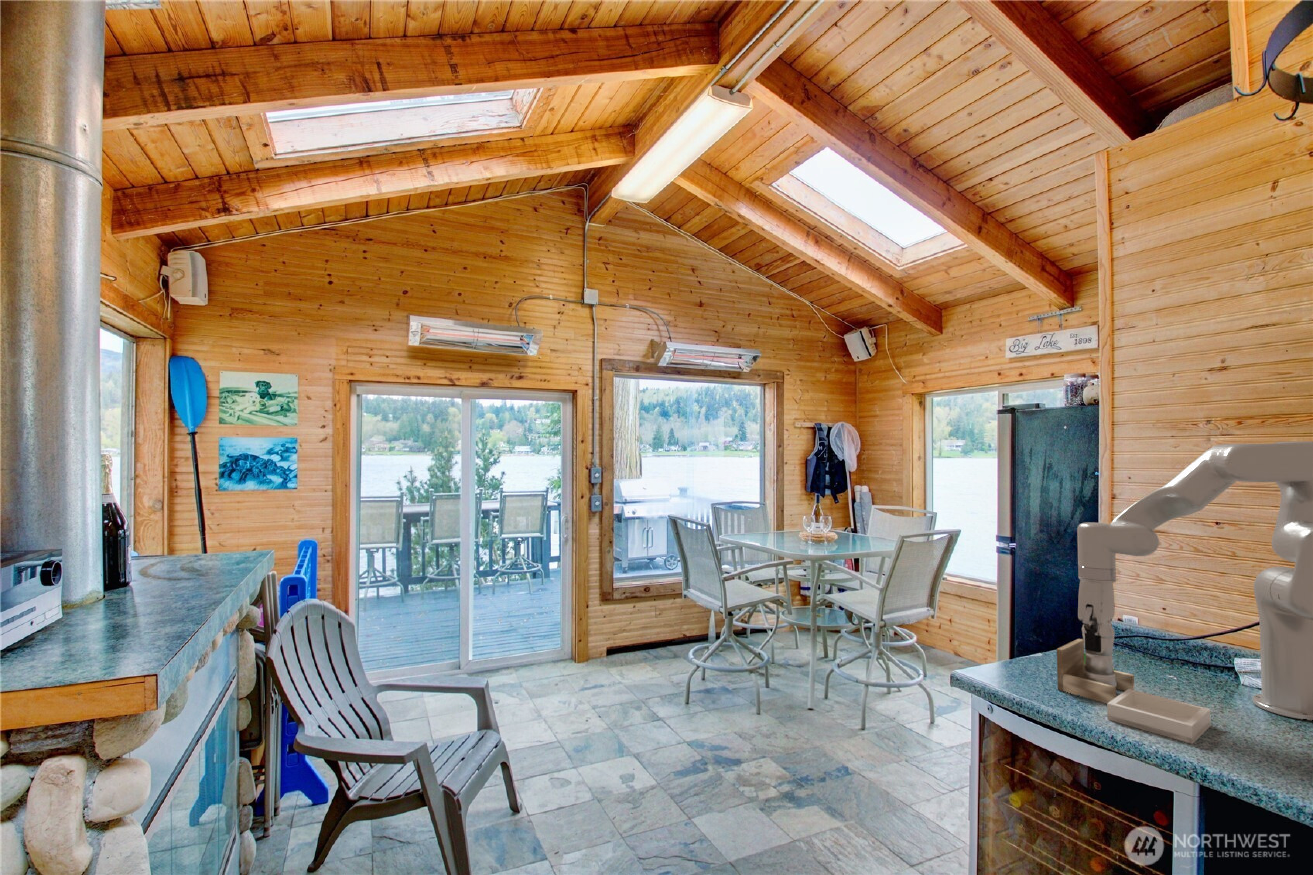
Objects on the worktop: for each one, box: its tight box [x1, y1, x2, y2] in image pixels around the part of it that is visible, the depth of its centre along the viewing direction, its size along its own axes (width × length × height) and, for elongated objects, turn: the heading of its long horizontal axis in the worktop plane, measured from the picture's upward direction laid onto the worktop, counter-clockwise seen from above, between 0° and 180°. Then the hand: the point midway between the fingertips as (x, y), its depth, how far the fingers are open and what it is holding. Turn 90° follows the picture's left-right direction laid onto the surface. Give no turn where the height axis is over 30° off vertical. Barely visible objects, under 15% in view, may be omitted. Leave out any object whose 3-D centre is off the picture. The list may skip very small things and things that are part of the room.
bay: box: [1056, 638, 1135, 704], centre depth 152 cm, size 12×13×10 cm
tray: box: [1106, 689, 1212, 745], centre depth 134 cm, size 14×13×4 cm
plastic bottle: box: [1081, 619, 1117, 686], centre depth 152 cm, size 6×7×20 cm
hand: (1098, 647), depth 152 cm, fingers closed on plastic bottle, 6 cm apart
